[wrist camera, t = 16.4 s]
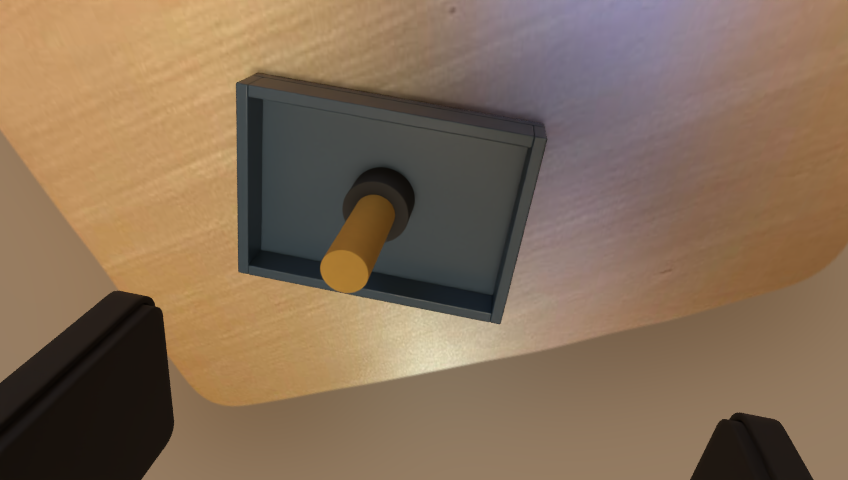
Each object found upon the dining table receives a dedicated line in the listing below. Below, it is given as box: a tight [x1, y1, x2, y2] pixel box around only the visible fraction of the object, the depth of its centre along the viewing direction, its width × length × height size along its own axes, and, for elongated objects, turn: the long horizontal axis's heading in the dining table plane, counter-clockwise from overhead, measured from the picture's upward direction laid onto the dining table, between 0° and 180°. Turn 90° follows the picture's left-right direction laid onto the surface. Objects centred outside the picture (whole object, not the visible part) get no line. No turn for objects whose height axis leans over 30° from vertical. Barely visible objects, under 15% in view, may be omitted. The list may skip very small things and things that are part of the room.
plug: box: [320, 167, 415, 293], centre depth 31 cm, size 4×4×10 cm
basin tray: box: [236, 73, 547, 324], centre depth 35 cm, size 17×12×3 cm
